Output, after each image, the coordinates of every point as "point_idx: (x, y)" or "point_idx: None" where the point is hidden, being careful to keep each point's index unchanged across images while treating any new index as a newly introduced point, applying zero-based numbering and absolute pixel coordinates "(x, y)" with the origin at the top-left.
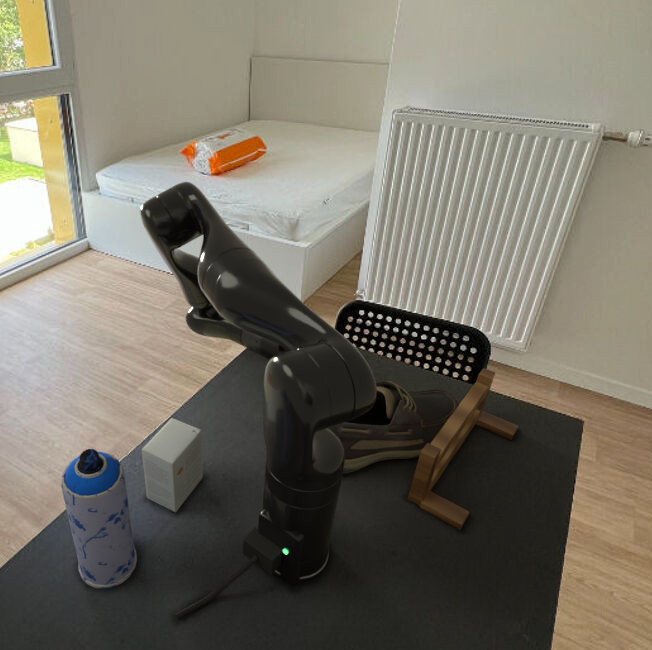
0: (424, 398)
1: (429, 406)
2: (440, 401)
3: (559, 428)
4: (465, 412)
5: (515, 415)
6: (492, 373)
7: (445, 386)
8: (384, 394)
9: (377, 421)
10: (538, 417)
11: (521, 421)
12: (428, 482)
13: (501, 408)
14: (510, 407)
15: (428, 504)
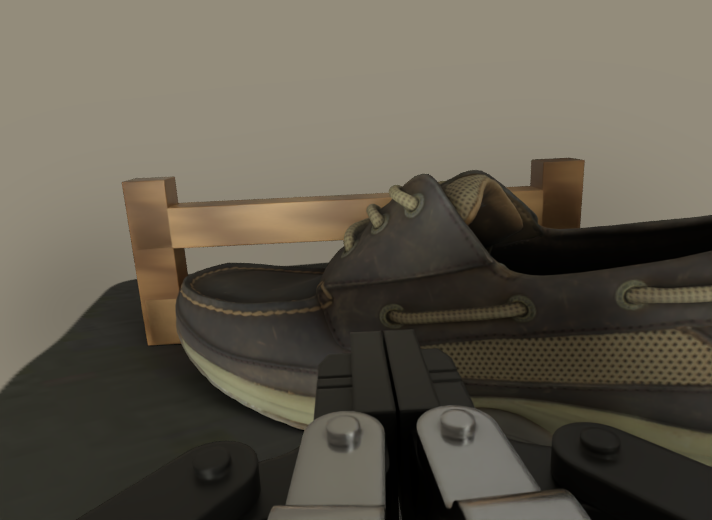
0: (262, 288)
1: (291, 282)
2: (246, 278)
3: (134, 285)
4: (330, 196)
5: (117, 312)
6: (143, 178)
7: (9, 402)
8: (490, 180)
9: None
10: (107, 298)
11: (138, 305)
12: None
13: (97, 325)
14: (85, 320)
15: None
